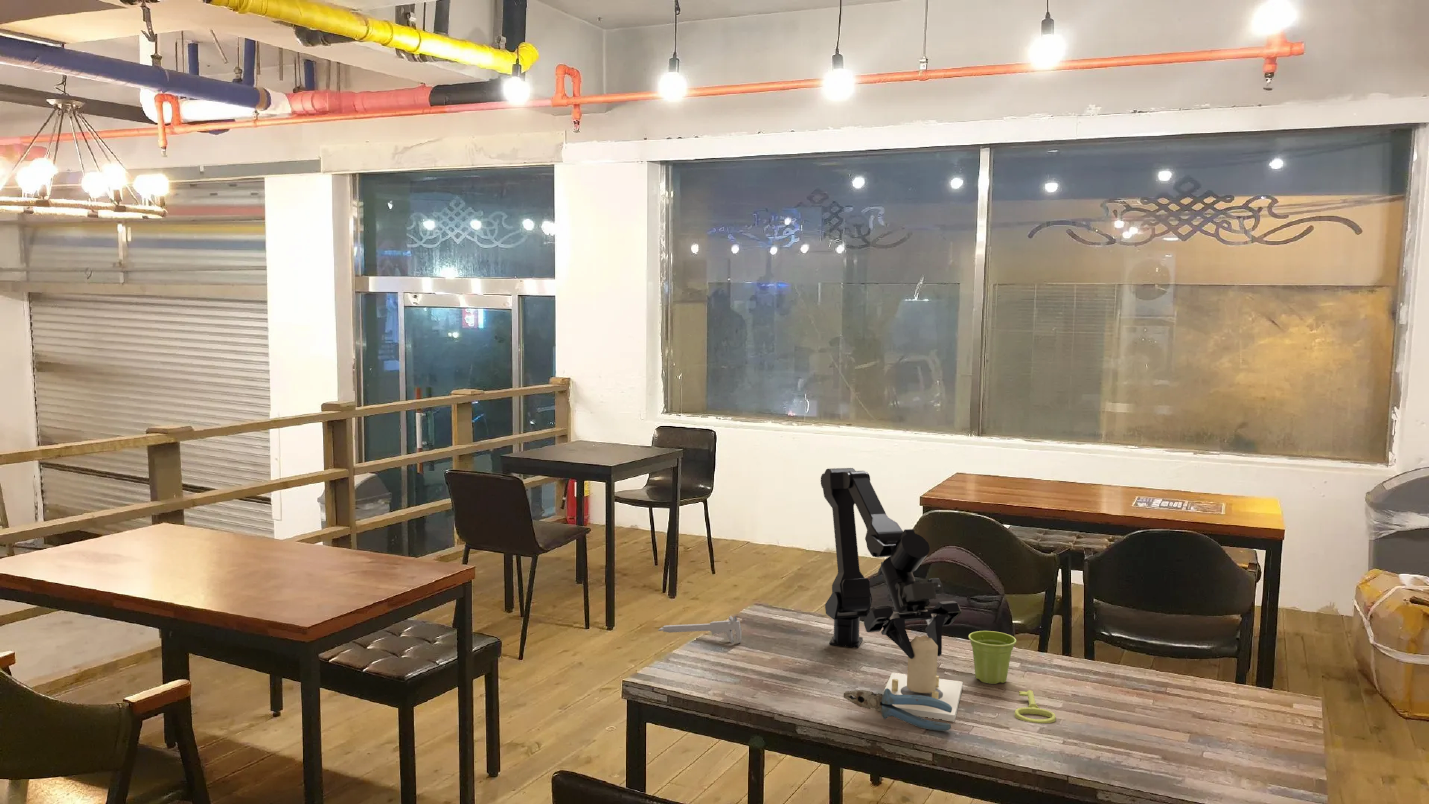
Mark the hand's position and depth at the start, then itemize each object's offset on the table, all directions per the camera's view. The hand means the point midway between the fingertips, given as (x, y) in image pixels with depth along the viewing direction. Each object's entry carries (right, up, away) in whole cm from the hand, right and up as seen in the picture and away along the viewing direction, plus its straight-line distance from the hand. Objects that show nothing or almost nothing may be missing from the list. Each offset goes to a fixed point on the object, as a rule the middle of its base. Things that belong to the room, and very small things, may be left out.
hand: (926, 656), depth 194 cm
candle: (-1, -7, +2) cm, 7 cm away
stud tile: (0, -9, +2) cm, 9 cm away
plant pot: (+16, -8, +13) cm, 22 cm away
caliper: (-44, -5, +37) cm, 58 cm away
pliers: (-7, -10, -9) cm, 15 cm away
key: (+19, -10, -3) cm, 22 cm away
